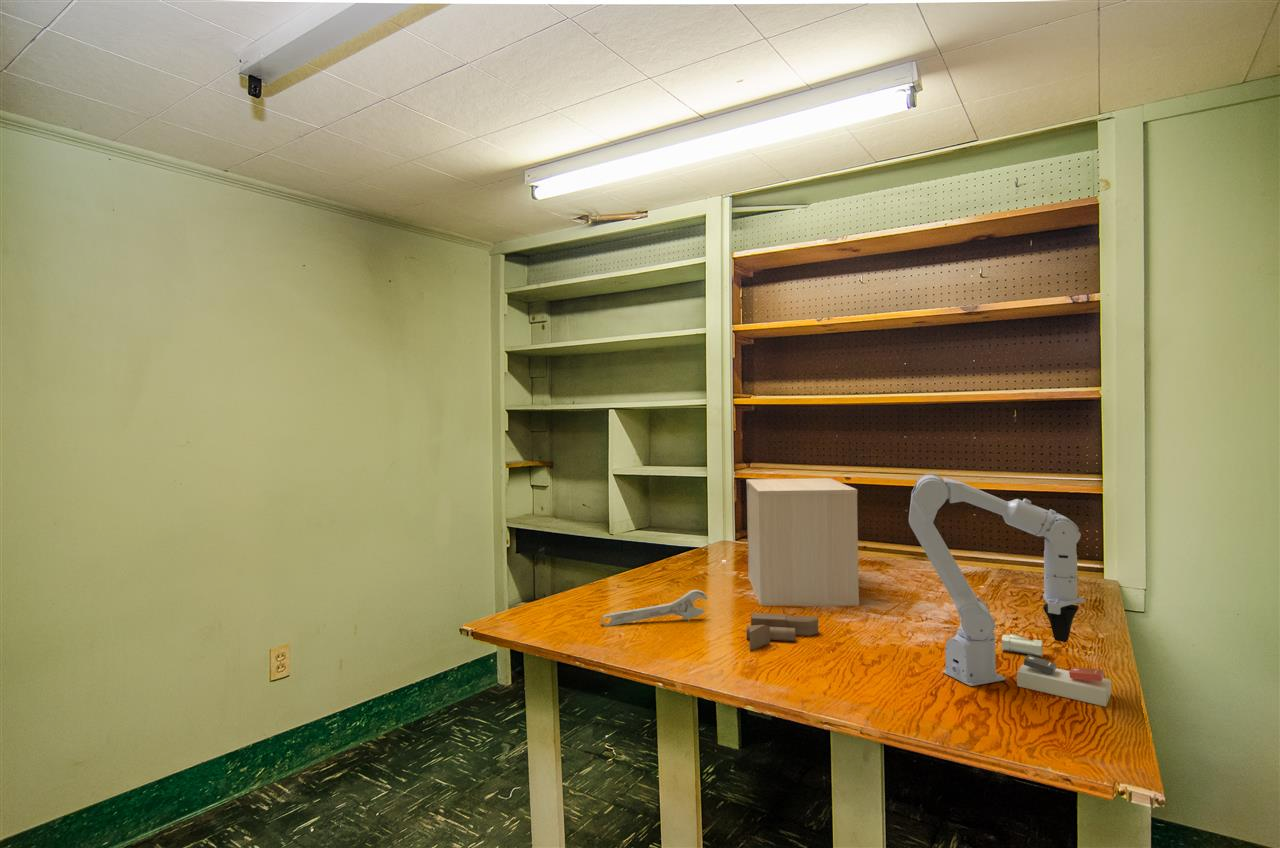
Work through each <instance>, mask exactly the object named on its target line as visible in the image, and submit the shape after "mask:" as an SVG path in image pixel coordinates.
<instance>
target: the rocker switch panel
mask: <svg viewBox="0 0 1280 848" xmlns="http://www.w3.org/2000/svg"><path fill="white" fill-rule="evenodd" d="M1069 672H1070V670H1067V669H1062V668H1057V667H1056V670H1055V672H1054V673H1053V675H1052V674H1049V673H1046V672H1043V671H1041V670H1038V669H1035V668H1032V667H1029V666H1026V665H1024V662H1023V663H1022V665H1021V666H1020V667H1019V668H1018V670H1017V671H1016V686H1017V687H1020V688H1024V689H1029V690H1032V691H1037V692H1041V693H1045V694H1048V695H1049V694H1050V695H1054V696H1058V697H1063V698H1067V699H1071V700H1076V701H1080V702H1084V703H1088V704H1092V705H1096V706H1100V707H1101V706H1102V707H1107V706H1108V703H1109V701H1110V698H1111V695H1112V680H1111V679H1110V678H1103V680H1102V681H1092V680H1082V679H1072V678H1070V674H1069Z"/></svg>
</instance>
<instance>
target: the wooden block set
mask: <svg viewBox="0 0 1280 848" xmlns="http://www.w3.org/2000/svg"><path fill="white" fill-rule="evenodd" d="M818 634H819V618H818V616H814V615H813V616H812V615H811V616H810V615H791V614H790V615H788V614H786V613H764V612H752V613H751V615H750V625H746V639H748V640H749V651H755V650H758V649H760V648H763V647H766V646H770V645H771V641H783V642H784V641H785V642H796V639H797V638H796V637H797V636H799V637H801V636H802V637H813V636H815V635H818Z"/></svg>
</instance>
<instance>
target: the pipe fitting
mask: <svg viewBox="0 0 1280 848" xmlns="http://www.w3.org/2000/svg"><path fill="white" fill-rule="evenodd" d="M1043 646H1044V645H1043V641H1042V640H1039V639H1033V640H1031V639H1029V638H1027V637H1024V636H1021V635H1019V634H1016V633H1010V634H1009V635H1008V634H1002V637H1001V650H1002V651H1003V652H1008V653H1009V652H1012V653H1019V654H1023V655H1031V656H1034V657H1037V658H1043V649H1044V648H1043Z"/></svg>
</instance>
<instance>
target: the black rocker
mask: <svg viewBox="0 0 1280 848" xmlns="http://www.w3.org/2000/svg"><path fill="white" fill-rule="evenodd" d="M1023 663H1024V665H1026V666H1029V667H1032V668H1035V669H1038V670H1041V671H1043V672H1046V673H1049V674H1052V675H1053V673H1054V672H1055V670H1056V668H1057V664H1058V663H1056V662H1052V661H1049V660H1045V659H1043V658H1041V657H1038V656H1034V655H1029V654H1026V657H1025V658H1024V660H1023Z"/></svg>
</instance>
